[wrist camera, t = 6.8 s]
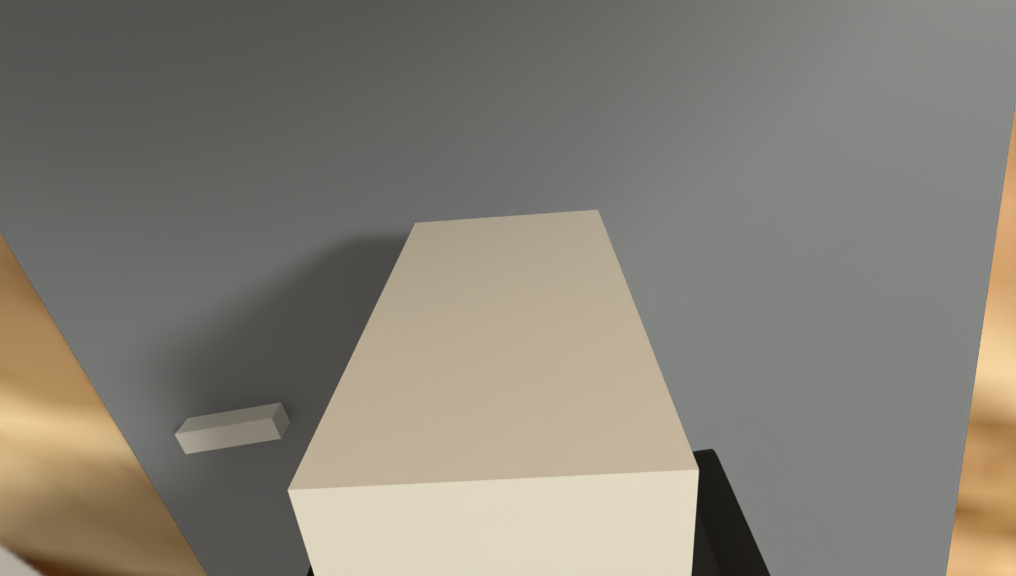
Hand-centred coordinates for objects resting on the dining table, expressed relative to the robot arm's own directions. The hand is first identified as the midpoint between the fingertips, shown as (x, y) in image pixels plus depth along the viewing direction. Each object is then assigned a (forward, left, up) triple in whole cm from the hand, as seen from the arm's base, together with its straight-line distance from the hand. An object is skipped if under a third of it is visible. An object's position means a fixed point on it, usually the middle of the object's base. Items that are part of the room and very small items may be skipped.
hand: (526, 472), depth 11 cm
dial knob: (0, +2, -3) cm, 4 cm away
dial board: (0, 0, -5) cm, 5 cm away
